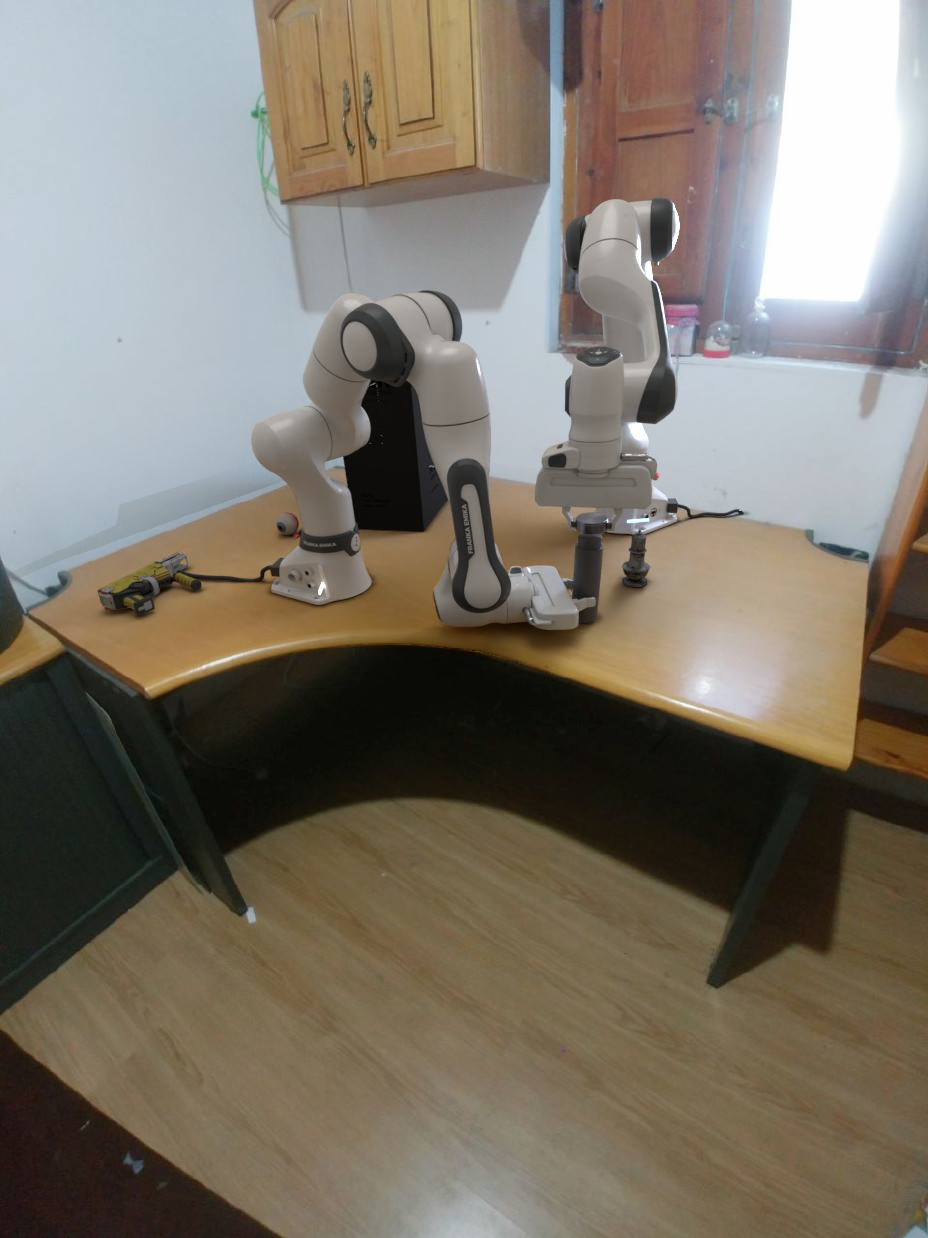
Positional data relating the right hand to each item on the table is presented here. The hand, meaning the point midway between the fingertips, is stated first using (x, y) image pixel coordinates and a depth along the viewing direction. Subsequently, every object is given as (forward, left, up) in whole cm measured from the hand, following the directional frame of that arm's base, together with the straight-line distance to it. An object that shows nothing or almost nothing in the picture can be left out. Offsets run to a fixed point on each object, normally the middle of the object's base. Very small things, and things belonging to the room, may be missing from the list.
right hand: (591, 529), depth 109 cm
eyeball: (+44, -77, -18) cm, 90 cm away
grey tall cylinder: (+1, 0, -18) cm, 18 cm away
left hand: (0, 0, -13) cm, 13 cm away
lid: (0, 0, +2) cm, 2 cm away
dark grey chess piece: (-17, -7, -18) cm, 26 cm away
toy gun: (+76, -56, -18) cm, 96 cm away
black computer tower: (+8, -80, -18) cm, 83 cm away
